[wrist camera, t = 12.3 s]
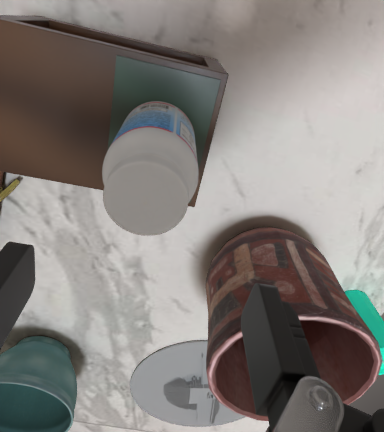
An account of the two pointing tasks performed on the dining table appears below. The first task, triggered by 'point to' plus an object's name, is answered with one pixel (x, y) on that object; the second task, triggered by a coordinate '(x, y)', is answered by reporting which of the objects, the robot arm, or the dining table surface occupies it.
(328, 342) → the pottery
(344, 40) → the dining table surface
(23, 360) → the flower pot
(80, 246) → the dining table surface
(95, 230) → the dining table surface
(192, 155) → the pill bottle
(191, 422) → the plate
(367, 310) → the candle
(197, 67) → the stand
